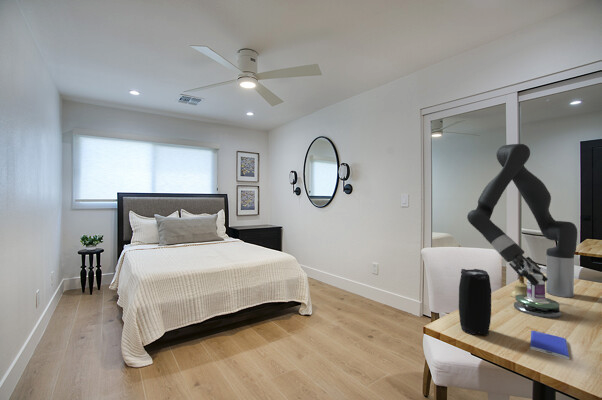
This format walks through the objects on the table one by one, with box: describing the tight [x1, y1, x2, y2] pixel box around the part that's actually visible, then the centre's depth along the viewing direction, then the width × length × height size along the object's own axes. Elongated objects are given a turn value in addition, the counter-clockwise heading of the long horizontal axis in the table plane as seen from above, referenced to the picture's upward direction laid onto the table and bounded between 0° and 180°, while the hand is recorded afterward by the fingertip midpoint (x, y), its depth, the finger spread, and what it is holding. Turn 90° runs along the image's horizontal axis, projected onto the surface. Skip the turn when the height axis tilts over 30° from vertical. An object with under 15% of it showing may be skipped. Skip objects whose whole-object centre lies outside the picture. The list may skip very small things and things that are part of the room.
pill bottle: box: [526, 272, 546, 301], centre depth 108 cm, size 5×5×10 cm
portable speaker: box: [458, 268, 492, 337], centre depth 91 cm, size 9×9×20 cm
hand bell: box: [509, 274, 527, 299], centre depth 123 cm, size 8×8×16 cm
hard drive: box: [529, 330, 570, 360], centre depth 82 cm, size 2×8×12 cm
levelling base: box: [513, 294, 562, 319], centre depth 108 cm, size 14×14×4 cm
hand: (541, 282), depth 107 cm, fingers open, 8 cm apart
